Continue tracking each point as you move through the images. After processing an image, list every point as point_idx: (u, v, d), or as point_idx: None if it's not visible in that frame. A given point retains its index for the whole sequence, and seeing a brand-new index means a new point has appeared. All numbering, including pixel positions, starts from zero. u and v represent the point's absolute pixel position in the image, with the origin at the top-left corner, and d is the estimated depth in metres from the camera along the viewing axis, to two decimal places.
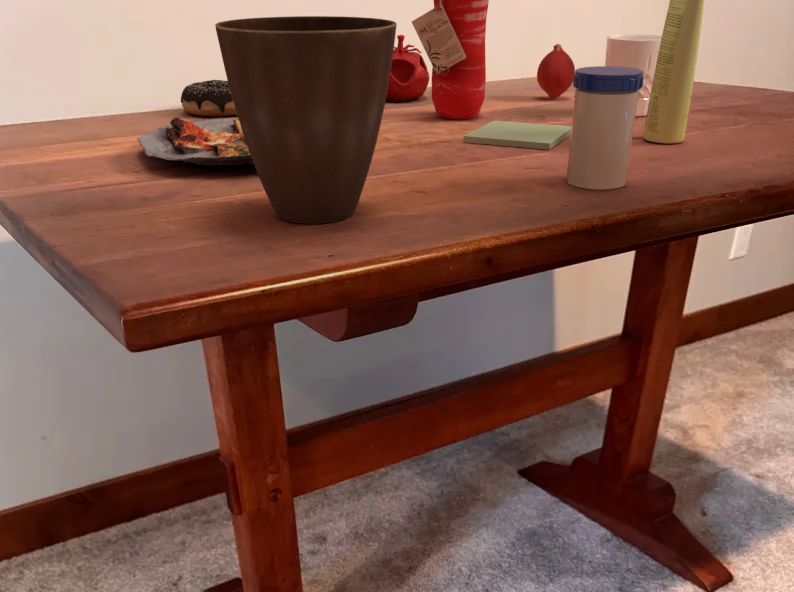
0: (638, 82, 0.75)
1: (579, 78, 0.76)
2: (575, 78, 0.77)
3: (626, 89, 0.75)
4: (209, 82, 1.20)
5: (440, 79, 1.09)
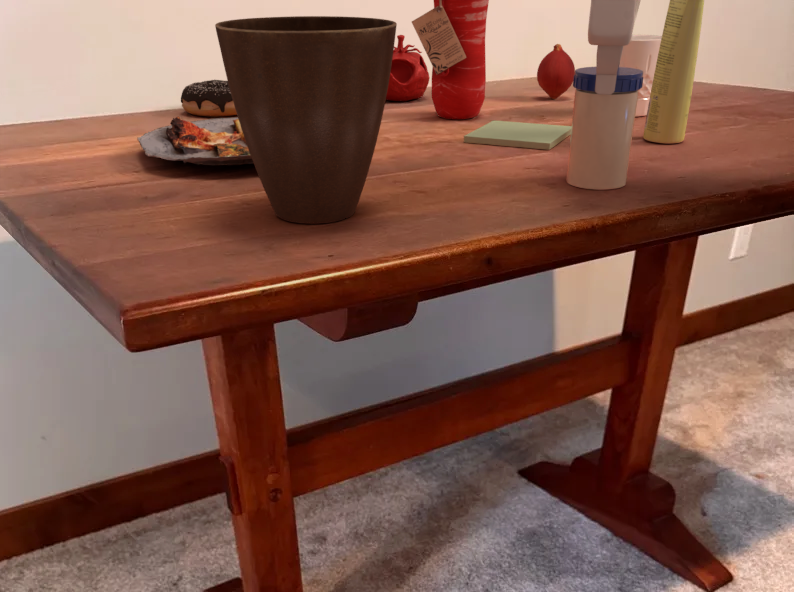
0: (638, 82, 0.75)
1: (578, 78, 0.76)
2: (575, 78, 0.77)
3: (626, 89, 0.75)
4: (209, 82, 1.20)
5: (440, 79, 1.09)
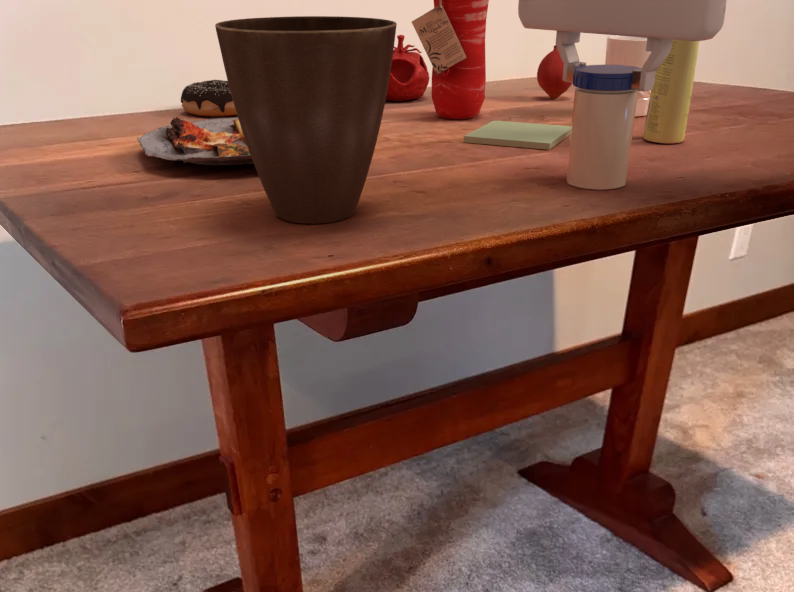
0: None
1: (607, 79, 0.74)
2: (599, 80, 0.75)
3: None
4: (209, 82, 1.20)
5: (440, 79, 1.09)
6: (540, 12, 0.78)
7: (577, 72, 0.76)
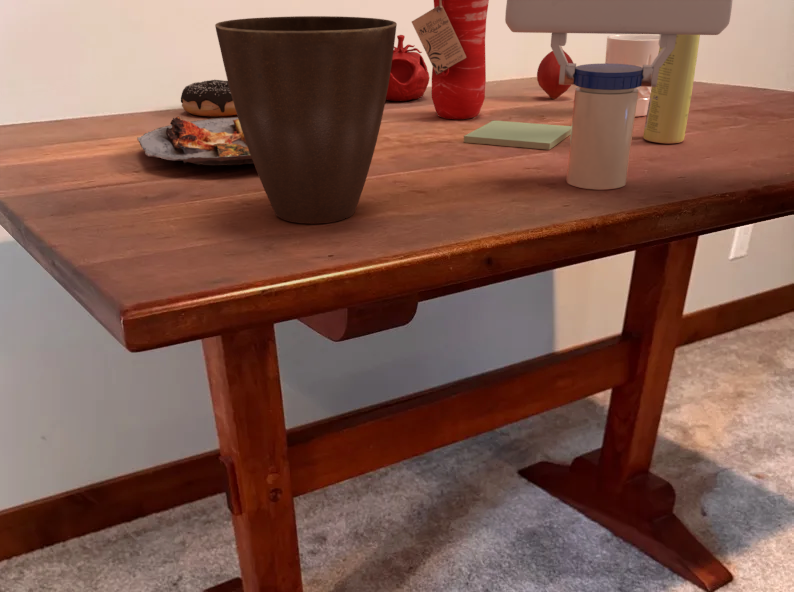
0: None
1: (627, 78, 0.74)
2: (619, 80, 0.74)
3: None
4: (209, 82, 1.20)
5: (440, 79, 1.09)
6: (536, 15, 0.74)
7: (590, 73, 0.75)
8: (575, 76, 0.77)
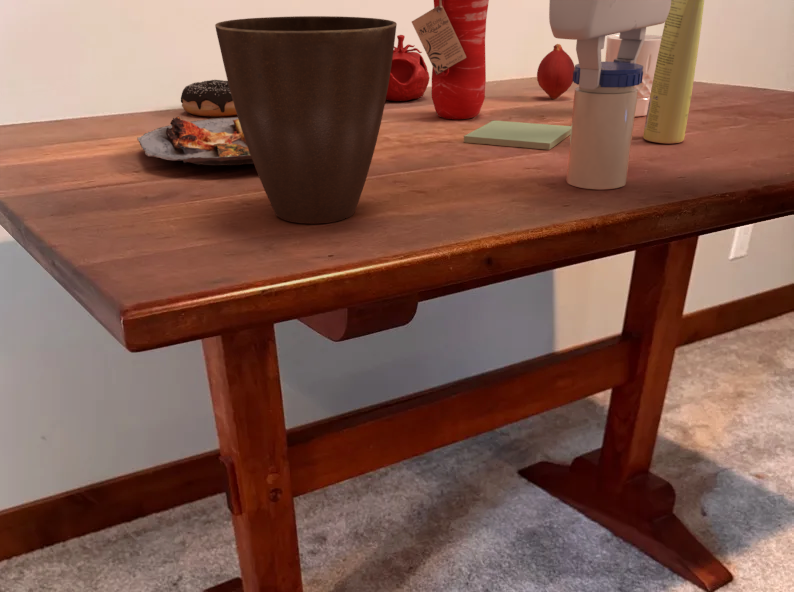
0: None
1: None
2: None
3: None
4: (209, 82, 1.20)
5: (440, 79, 1.09)
6: (602, 18, 0.68)
7: (628, 71, 0.74)
8: (604, 78, 0.74)
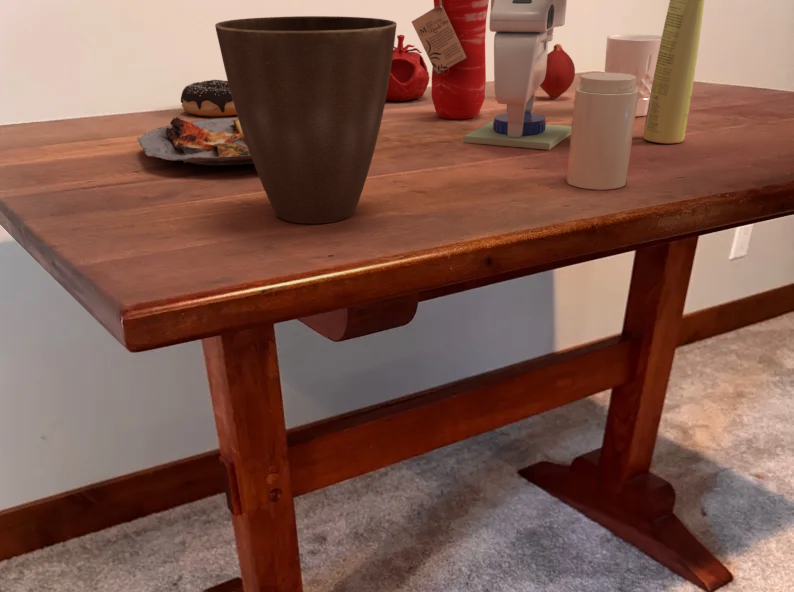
0: None
1: None
2: (544, 122, 1.01)
3: None
4: (209, 82, 1.20)
5: (440, 79, 1.09)
6: (530, 87, 0.92)
7: (539, 122, 0.99)
8: None
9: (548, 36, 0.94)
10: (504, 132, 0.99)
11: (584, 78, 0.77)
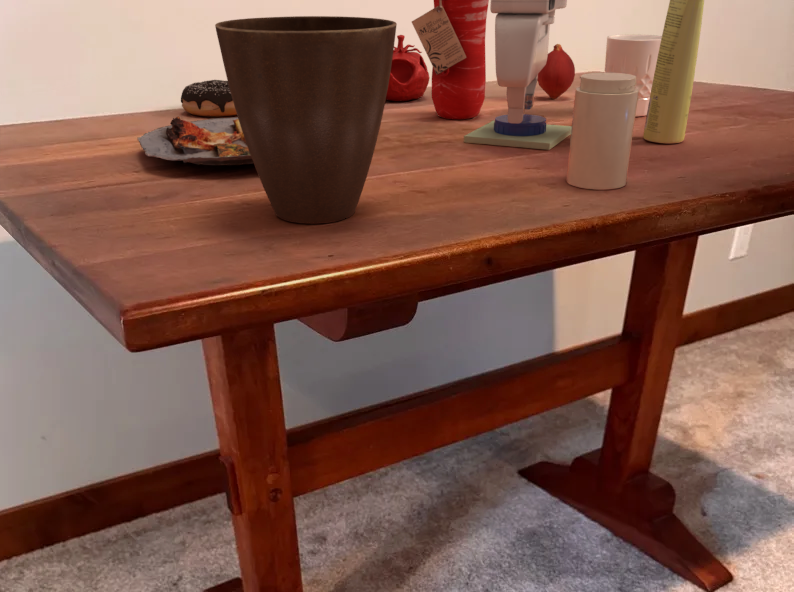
0: None
1: None
2: None
3: None
4: (209, 82, 1.20)
5: (440, 79, 1.09)
6: (532, 70, 0.91)
7: (540, 123, 0.98)
8: (524, 129, 0.98)
9: (550, 18, 0.93)
10: (505, 133, 0.99)
11: (584, 78, 0.77)
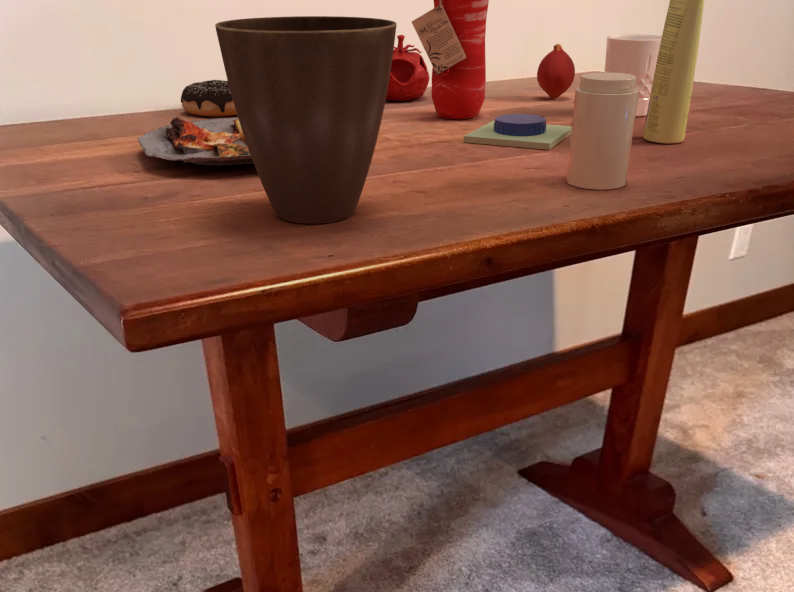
0: None
1: None
2: None
3: None
4: (209, 82, 1.20)
5: (440, 79, 1.09)
6: None
7: (540, 123, 0.98)
8: (524, 129, 0.98)
9: None
10: (505, 133, 0.99)
11: (584, 78, 0.77)
